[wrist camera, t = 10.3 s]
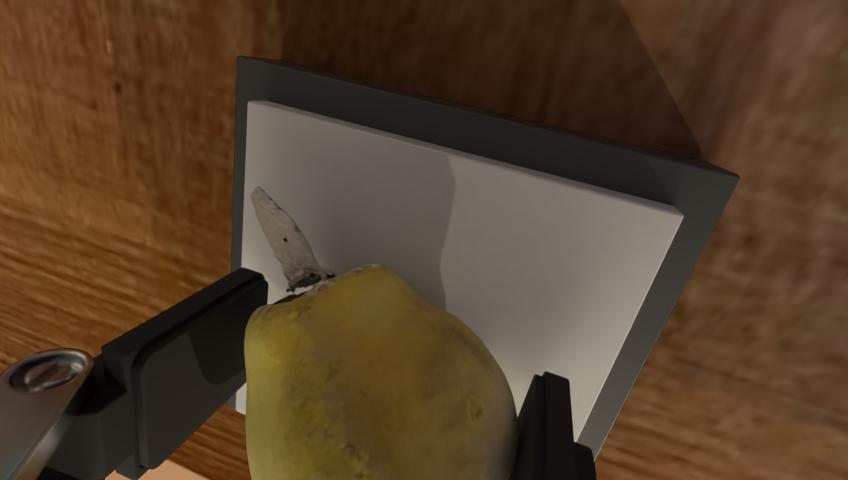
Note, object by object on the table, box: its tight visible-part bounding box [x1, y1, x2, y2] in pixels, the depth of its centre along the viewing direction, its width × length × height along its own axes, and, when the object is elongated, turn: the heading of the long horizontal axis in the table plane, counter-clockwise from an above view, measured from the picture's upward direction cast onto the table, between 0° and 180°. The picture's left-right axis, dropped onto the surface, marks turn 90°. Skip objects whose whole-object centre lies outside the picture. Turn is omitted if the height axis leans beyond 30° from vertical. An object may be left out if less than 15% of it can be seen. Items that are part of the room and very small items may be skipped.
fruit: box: [244, 186, 519, 480], centre depth 10 cm, size 6×6×10 cm
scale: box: [227, 55, 740, 462], centre depth 13 cm, size 13×13×3 cm
